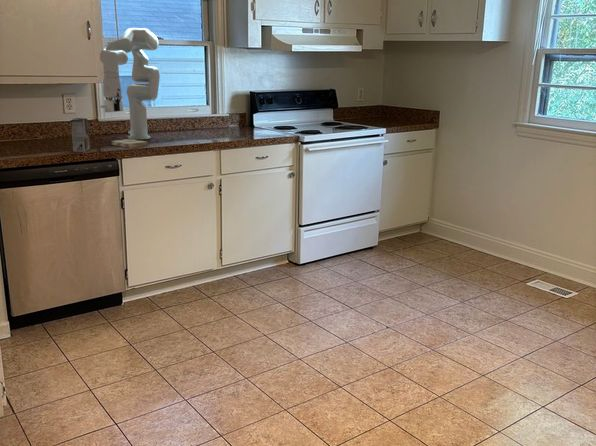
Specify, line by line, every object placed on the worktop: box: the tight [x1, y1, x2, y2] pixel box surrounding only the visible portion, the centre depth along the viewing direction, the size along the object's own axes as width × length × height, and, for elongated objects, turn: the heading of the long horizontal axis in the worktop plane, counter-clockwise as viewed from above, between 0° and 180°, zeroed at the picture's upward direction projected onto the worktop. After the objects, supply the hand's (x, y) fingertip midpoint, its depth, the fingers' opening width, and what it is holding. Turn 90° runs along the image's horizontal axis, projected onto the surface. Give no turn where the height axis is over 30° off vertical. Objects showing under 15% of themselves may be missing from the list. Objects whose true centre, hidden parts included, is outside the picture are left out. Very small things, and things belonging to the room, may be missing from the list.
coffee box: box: [70, 117, 91, 153], centre depth 310 cm, size 9×6×16 cm
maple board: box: [111, 138, 149, 149], centre depth 332 cm, size 16×12×2 cm
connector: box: [100, 98, 124, 113], centre depth 319 cm, size 4×12×6 cm, turn 142°
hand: (114, 110), depth 320 cm, fingers closed on connector, 4 cm apart
